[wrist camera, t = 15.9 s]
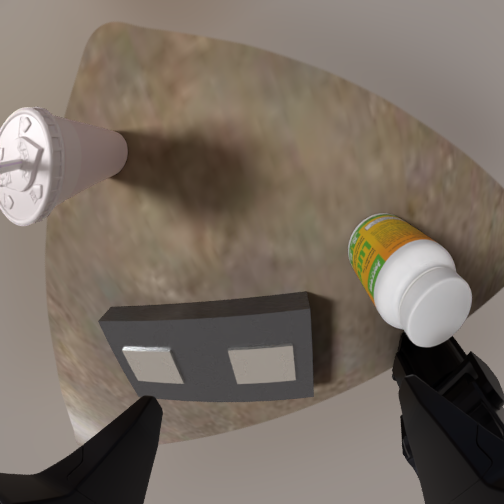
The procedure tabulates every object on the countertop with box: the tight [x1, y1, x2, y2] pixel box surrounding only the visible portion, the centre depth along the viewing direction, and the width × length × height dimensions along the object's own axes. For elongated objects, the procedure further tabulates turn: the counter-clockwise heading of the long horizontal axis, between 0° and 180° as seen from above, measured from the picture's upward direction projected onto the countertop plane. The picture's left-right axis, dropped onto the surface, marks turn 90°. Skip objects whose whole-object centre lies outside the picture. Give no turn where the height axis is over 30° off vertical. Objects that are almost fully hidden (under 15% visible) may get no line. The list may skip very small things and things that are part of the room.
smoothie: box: [0, 106, 128, 226], centre depth 12 cm, size 6×6×14 cm
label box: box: [98, 292, 314, 402], centre depth 23 cm, size 18×10×3 cm, turn 99°
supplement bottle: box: [348, 213, 472, 347], centre depth 15 cm, size 5×5×10 cm
